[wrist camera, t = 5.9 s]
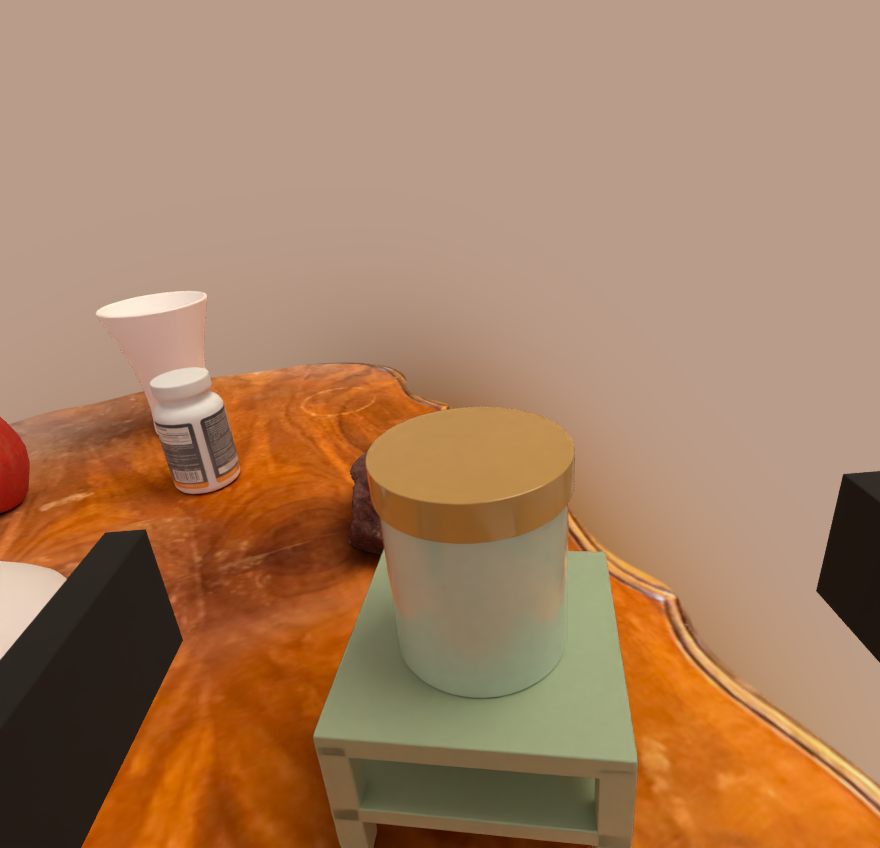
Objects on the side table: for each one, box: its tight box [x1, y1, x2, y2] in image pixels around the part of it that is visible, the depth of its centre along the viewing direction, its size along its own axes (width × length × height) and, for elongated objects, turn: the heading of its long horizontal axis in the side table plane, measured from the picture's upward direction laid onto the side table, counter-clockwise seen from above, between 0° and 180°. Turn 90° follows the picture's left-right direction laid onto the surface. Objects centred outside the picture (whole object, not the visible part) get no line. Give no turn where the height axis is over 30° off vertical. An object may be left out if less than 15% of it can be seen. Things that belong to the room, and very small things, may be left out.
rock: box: [348, 452, 384, 555], centre depth 45 cm, size 11×6×8 cm
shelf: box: [313, 550, 638, 848], centre depth 27 cm, size 11×11×7 cm
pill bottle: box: [150, 367, 240, 494], centre depth 52 cm, size 6×6×10 cm
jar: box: [365, 407, 575, 698], centre depth 23 cm, size 7×7×8 cm
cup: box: [95, 291, 207, 434], centre depth 63 cm, size 10×10×14 cm
